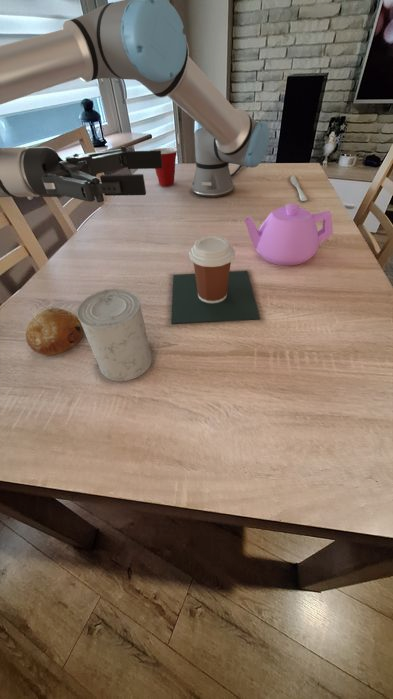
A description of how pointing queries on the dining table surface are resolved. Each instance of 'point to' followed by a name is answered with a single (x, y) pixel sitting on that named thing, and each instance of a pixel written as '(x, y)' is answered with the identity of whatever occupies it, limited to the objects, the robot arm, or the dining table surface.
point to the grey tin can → (116, 333)
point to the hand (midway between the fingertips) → (153, 171)
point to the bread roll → (53, 331)
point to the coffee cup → (212, 267)
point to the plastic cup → (166, 166)
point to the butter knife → (295, 183)
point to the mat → (197, 311)
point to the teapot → (289, 234)
